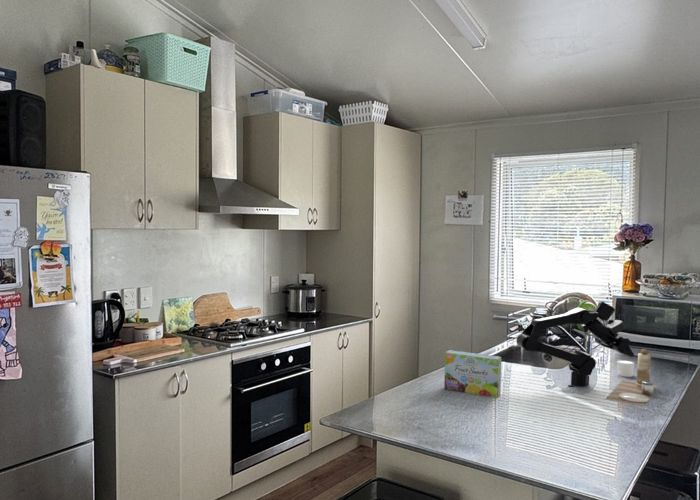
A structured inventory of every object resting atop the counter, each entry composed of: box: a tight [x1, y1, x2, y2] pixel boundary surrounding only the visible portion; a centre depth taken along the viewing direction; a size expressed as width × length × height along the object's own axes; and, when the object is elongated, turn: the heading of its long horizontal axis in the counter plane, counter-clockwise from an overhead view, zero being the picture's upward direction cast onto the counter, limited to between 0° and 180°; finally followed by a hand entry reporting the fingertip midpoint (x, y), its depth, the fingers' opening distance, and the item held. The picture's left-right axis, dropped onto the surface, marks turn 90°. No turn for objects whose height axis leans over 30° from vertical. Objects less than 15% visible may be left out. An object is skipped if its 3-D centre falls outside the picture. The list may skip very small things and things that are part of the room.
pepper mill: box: [636, 348, 652, 387], centre depth 235 cm, size 5×5×15 cm
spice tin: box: [641, 381, 655, 396], centre depth 225 cm, size 4×4×4 cm
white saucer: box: [619, 393, 650, 403], centre depth 218 cm, size 10×10×1 cm
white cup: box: [616, 359, 635, 378], centre depth 253 cm, size 7×7×7 cm
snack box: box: [443, 349, 502, 399], centre depth 225 cm, size 21×6×15 cm, turn 62°
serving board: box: [605, 380, 657, 407], centre depth 226 cm, size 34×13×1 cm, turn 145°
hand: (627, 353), depth 236 cm, fingers open, 9 cm apart
